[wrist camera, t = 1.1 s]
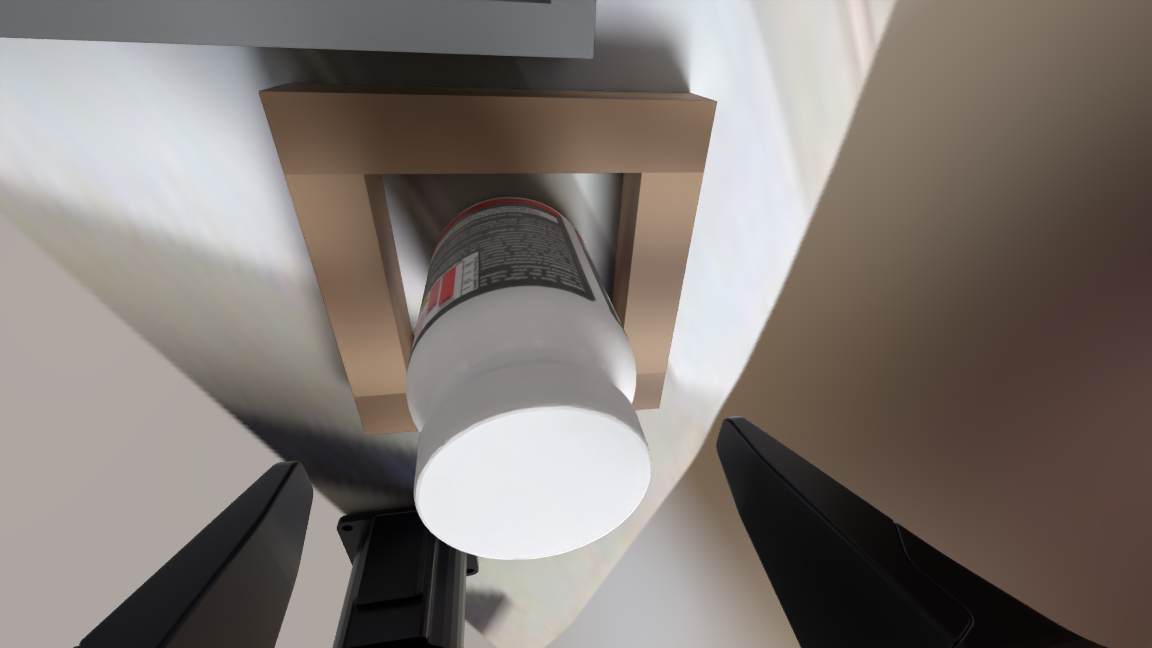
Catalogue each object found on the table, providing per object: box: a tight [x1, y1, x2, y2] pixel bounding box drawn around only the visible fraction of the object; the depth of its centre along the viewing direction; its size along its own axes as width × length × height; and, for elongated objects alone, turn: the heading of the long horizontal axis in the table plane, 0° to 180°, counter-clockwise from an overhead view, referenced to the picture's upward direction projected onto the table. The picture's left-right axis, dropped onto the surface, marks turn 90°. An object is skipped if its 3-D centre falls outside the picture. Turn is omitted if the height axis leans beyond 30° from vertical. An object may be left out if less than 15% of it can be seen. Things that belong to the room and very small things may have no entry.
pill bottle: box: [406, 197, 651, 560], centre depth 13 cm, size 6×6×10 cm
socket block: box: [259, 83, 717, 435], centre depth 16 cm, size 12×12×2 cm
